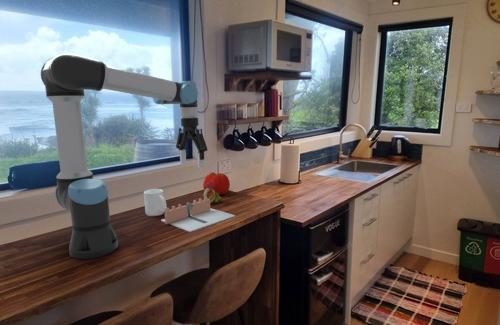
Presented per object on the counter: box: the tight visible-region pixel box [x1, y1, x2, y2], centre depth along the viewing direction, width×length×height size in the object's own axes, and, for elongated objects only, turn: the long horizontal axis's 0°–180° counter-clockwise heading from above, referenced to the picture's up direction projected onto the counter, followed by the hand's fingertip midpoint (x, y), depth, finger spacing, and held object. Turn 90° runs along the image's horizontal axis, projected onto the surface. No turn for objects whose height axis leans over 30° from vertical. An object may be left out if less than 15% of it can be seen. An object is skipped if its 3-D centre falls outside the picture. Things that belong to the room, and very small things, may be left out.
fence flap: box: [190, 196, 211, 216], centre depth 153 cm, size 10×2×6 cm, turn 136°
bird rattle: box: [203, 181, 222, 204], centre depth 169 cm, size 6×11×9 cm
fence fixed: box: [164, 201, 191, 225], centre depth 144 cm, size 12×1×7 cm, turn 136°
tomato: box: [202, 172, 231, 196], centre depth 185 cm, size 13×14×12 cm
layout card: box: [160, 207, 236, 233], centre depth 147 cm, size 25×20×1 cm
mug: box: [143, 188, 167, 217], centre depth 154 cm, size 12×8×10 cm
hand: (192, 165), depth 156 cm, fingers open, 12 cm apart
